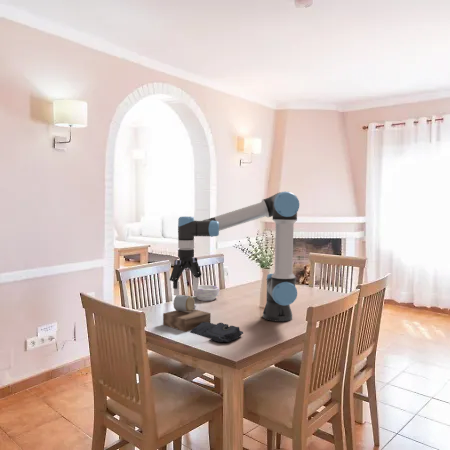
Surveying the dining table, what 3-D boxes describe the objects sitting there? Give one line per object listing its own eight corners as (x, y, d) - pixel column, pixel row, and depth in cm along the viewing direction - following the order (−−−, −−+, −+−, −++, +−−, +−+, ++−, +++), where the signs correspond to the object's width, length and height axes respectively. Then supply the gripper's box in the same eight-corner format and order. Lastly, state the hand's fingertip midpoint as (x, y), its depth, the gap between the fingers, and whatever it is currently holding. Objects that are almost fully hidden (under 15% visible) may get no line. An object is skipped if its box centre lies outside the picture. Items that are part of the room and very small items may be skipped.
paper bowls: (223, 300, 254) (224, 287, 254) (204, 304, 244) (204, 290, 244) (207, 296, 266) (207, 283, 265) (188, 299, 256) (188, 286, 255)
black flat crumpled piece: (209, 325, 202) (209, 316, 202) (246, 335, 188) (246, 324, 188) (187, 333, 190) (187, 322, 190) (225, 343, 176) (225, 332, 176)
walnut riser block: (210, 325, 203) (210, 313, 202) (185, 332, 191) (186, 319, 190) (187, 319, 213) (187, 307, 213) (163, 325, 201) (163, 313, 201)
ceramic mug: (186, 312, 198) (186, 296, 199) (173, 311, 202) (172, 295, 203) (199, 309, 207) (199, 293, 208) (186, 308, 211) (186, 293, 212)
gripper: (196, 246, 213) (196, 287, 214) (161, 250, 193) (162, 296, 194) (208, 247, 208) (208, 289, 209) (173, 251, 188) (174, 298, 189)
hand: (186, 293), depth 202 cm, fingers open, 13 cm apart
